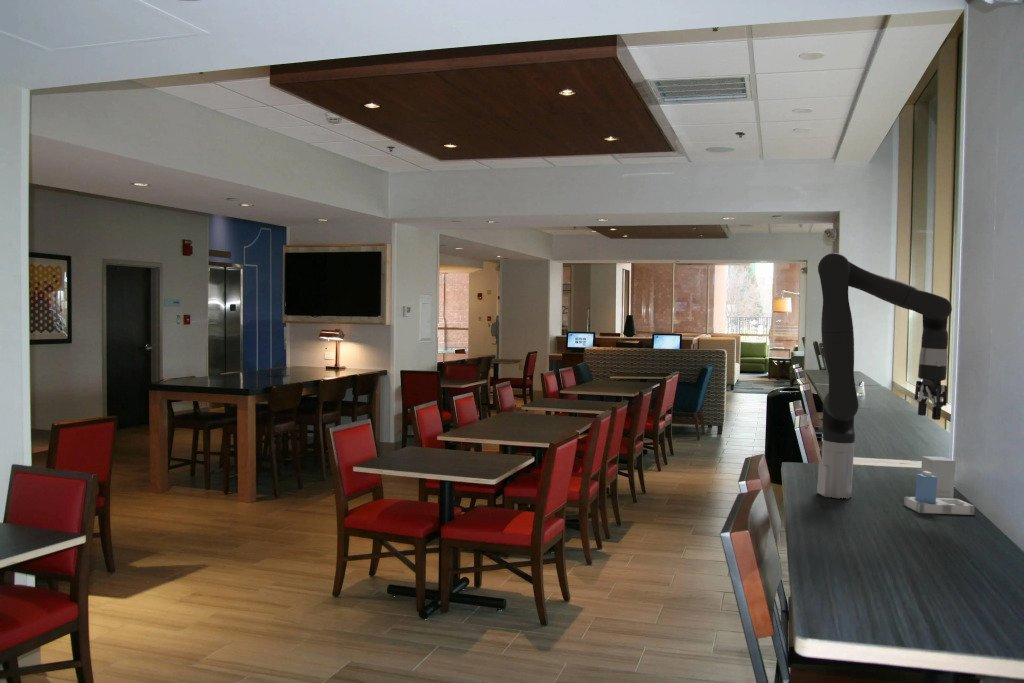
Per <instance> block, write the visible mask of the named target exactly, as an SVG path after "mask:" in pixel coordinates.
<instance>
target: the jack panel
mask: <svg viewBox="0 0 1024 683" xmlns="http://www.w3.org/2000/svg"><path fill="white" fill-rule="evenodd" d="M903 500H904V501H903V505H904V506H905V507H906V508H909V509H911V510H913V511H915V512H917V513H919V514H941V515H943V514H945V515H967V516H968V515H971V516H974V515H975V505H973V504H971V503H969V502H966V501H964V500H961V499H959V498H954V497H953V498H936V503H921V502H918V501H916V500H915V496H904V498H903Z"/></svg>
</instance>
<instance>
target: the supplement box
mask: <svg viewBox="0 0 1024 683" xmlns="http://www.w3.org/2000/svg"><path fill="white" fill-rule="evenodd" d="M956 463H957V462H956V460H953V459H951V458H948V457H945V456H925V455H923V456H922V457H921V466H920V467H921V471H920V474H922V471H928V472H930V473H932V475H933V476H936V477H937V489H936V498H954V494H955V492H954V489H955V475H956Z"/></svg>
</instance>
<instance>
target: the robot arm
mask: <svg viewBox="0 0 1024 683" xmlns="http://www.w3.org/2000/svg"><path fill="white" fill-rule="evenodd" d="M817 272H818V275H819V280H820V286H821V293H822V311H821V322H820V323H821V345H822V351H823V357H824V361H825V366H826V369H827V375H828V392H827V394H826V395H825V397H824V400H823V405H822V406H823V410H822V425H821V426H822V446H821V462H818V468H817V469H818V473H817V486H816V489H817V490H816V493H817V494H819V495H821V496H822V497H824V498H831V497H832V499H833V498H834V499H840V498H842V499H843V498H846V499H850V497H851V498H852V490H853V471H854V454H855V439H856V434H855V425H854V424H855V416H856V414H857V413H858V410H859V399H858V395H857V394H858V393H857V387H856V382H855V336H854V334H855V332H854V324H853V316H852V311H851V306H850V299H849V298H850V297H849V287H850V288H854V289H856V290H859V291H862V292H865V293H867V294H869V295H871V296H874V297H875V298H878V299H879V300H882V301H884V302H887V303H889V304H892V305H894V306H896V307H899V308H902V309H905V310H910V311H914V312H915V313H918V314H920V315H922V335H921V345H920V351H919V357H918V358H919V359H918V373H917V378H918V379H920V380H916V382H915V390H914V400H915V401H917V402H916V403H918V404H917V405H918V407H917V415H918V416H924V417H925V416H926V415H927V406H928V401H929V400H930V401H931V404H932V408H931V409H932V412H931V413H932V414H931V419H932V420H935V421H936V420H937V421H939V420H941V418H942V417H941V415H942V408H943V407H946V406H947V400H948V399H947V398H948V385H944V384H942V381H946V379H947V372H948V371H947V369H948V343H949V333H948V332H949V331H948V330H947V329H948V318H949V316H950V315H951V313H952V311H953V306H952V303H951V302H950V300H948V299H947V298H946V297H944V296H940V295H938V294H935V293H932V292H929V291H925V290H922V289H919V288H917V287H915V286H913V285H910V284H908V283H906V282H903V281H900V280H897V279H894V278H890V277H888V276H884V275H882V274H881V275H880V274H878V273H875V272H871V271H869V270H866V269H864V268H862V267H860V266H858V265H857V264H855V263H853V262H851V261H849V260H848V258H847V257H846V256H844V255H843V254H841V253H837V252H831V253H828V254H826V255H824V256H823V257H822V258H821V259H820V261H819V262H818V265H817ZM842 499H841V500H842Z"/></svg>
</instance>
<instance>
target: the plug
mask: <svg viewBox="0 0 1024 683" xmlns="http://www.w3.org/2000/svg"><path fill="white" fill-rule="evenodd" d="M915 481H916V483H915V495H914V497H915V500H916V501H918V502H921V503H936V489H937V477H936V476H933V475H932V473H930V472H928V471H922V474H921V473H916V480H915Z"/></svg>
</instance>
